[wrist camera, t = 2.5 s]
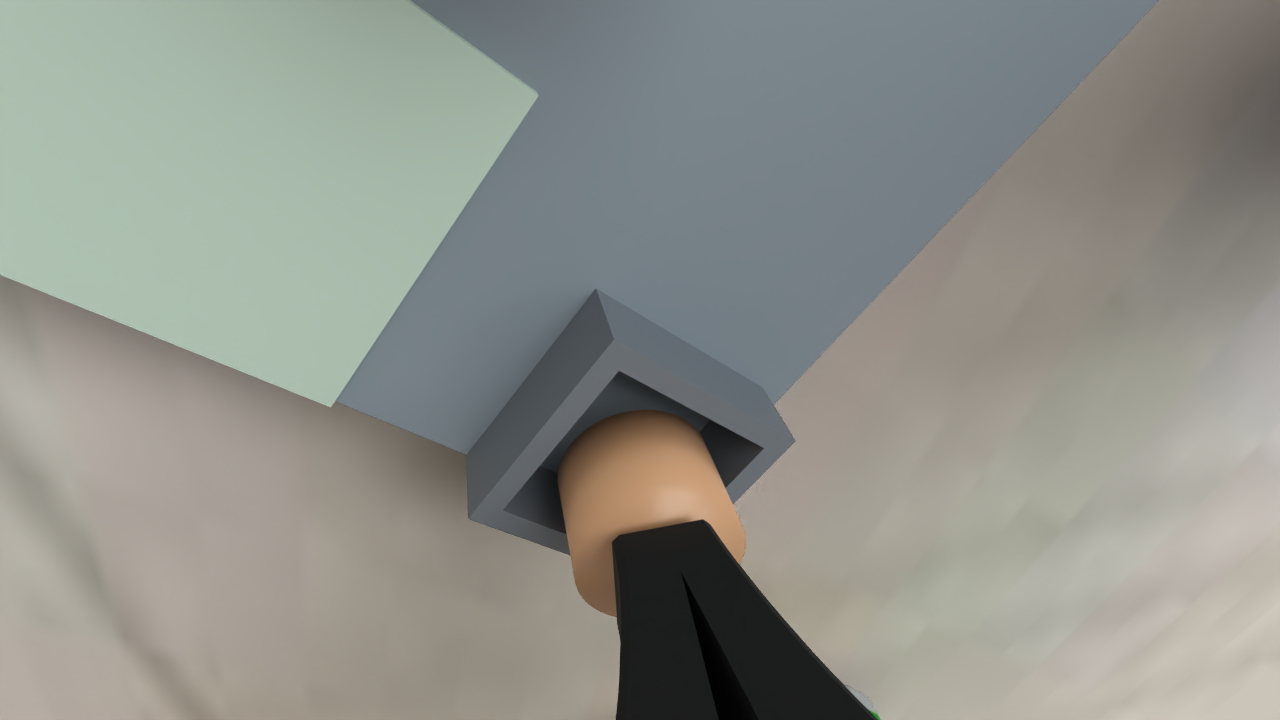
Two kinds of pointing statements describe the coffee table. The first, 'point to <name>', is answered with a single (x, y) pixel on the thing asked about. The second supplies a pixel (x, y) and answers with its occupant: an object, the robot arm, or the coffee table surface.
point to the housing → (514, 195)
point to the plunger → (637, 492)
